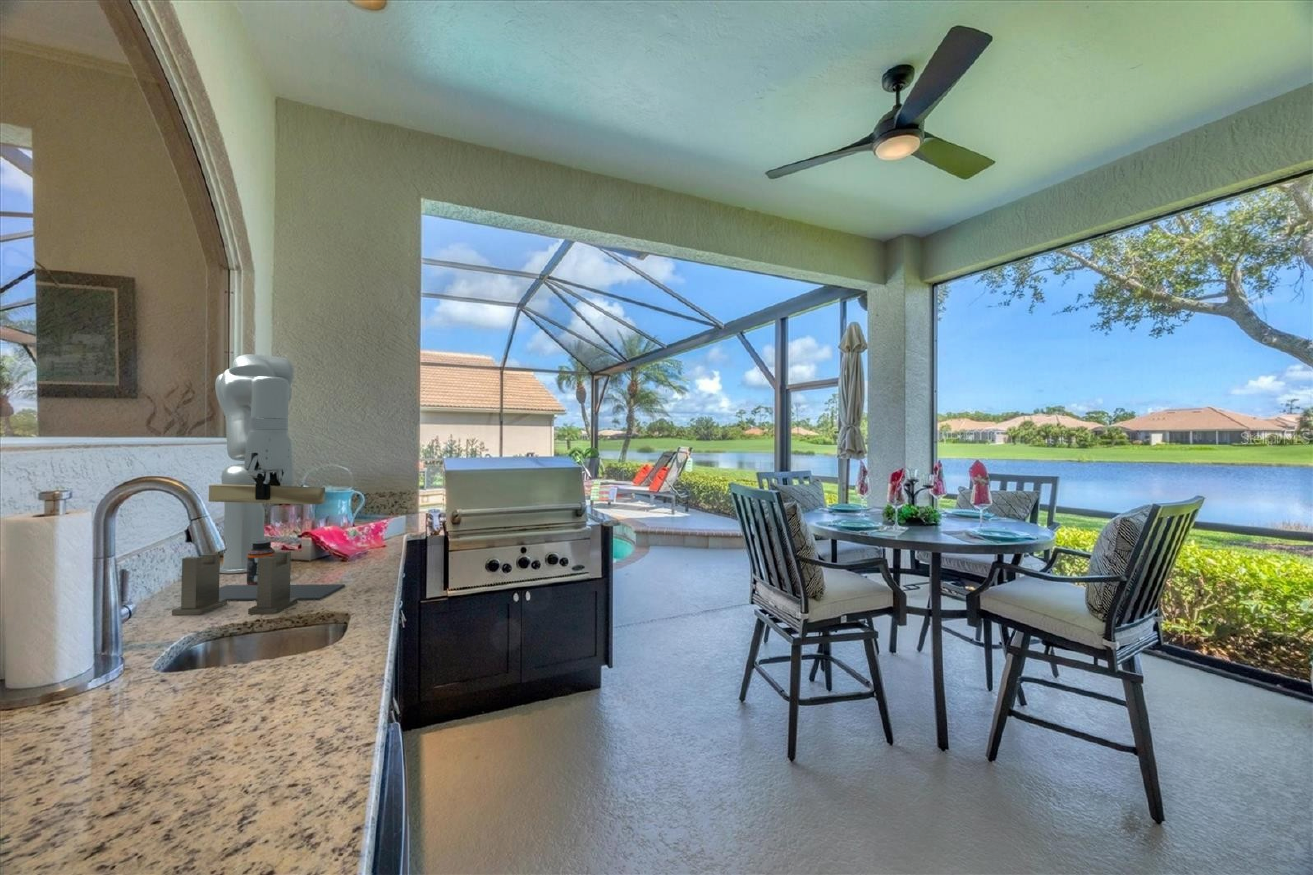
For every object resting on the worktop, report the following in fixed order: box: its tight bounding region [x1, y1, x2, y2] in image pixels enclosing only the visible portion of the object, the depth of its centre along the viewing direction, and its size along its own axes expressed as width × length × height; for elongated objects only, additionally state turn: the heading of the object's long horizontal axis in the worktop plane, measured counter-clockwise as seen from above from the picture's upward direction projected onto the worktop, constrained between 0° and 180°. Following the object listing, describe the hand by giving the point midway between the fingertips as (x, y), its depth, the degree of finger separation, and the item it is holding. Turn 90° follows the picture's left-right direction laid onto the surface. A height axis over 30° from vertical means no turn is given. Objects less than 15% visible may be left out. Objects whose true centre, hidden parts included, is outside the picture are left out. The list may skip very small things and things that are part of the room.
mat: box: [219, 583, 346, 602], centre depth 132 cm, size 12×30×1 cm, turn 95°
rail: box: [208, 483, 326, 506], centre depth 131 cm, size 3×26×4 cm, turn 94°
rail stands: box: [171, 551, 299, 616], centre depth 120 cm, size 8×22×12 cm, turn 95°
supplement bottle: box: [246, 540, 275, 585], centre depth 141 cm, size 6×6×11 cm
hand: (267, 498), depth 131 cm, fingers closed on rail, 3 cm apart
